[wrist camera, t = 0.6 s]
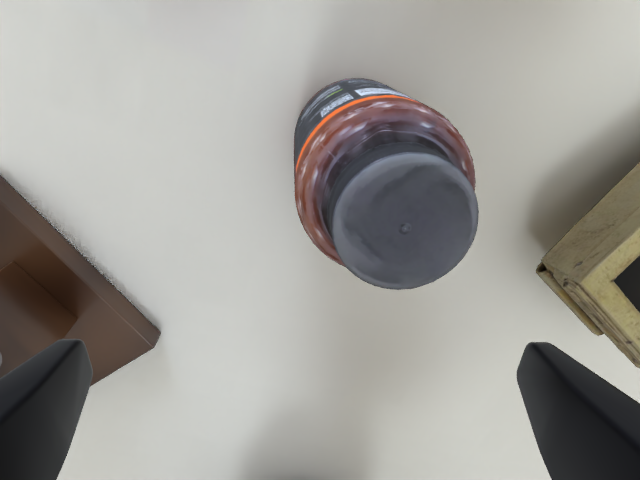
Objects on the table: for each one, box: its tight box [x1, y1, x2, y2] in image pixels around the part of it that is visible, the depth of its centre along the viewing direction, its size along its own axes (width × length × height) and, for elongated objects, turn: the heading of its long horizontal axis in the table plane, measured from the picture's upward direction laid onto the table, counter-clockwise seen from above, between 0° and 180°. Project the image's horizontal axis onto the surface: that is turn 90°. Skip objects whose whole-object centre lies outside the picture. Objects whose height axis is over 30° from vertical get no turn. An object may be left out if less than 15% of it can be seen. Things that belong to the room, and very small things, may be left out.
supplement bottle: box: [294, 78, 479, 290], centre depth 17 cm, size 6×6×11 cm
